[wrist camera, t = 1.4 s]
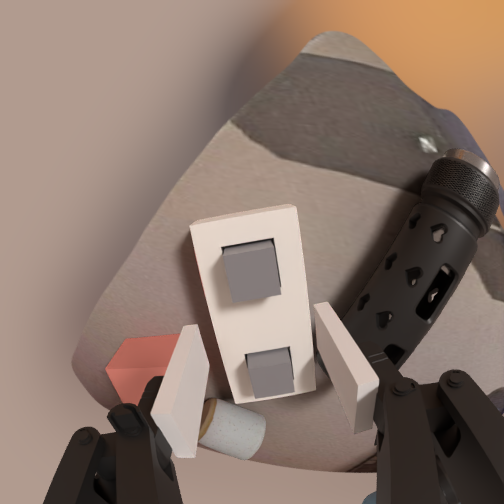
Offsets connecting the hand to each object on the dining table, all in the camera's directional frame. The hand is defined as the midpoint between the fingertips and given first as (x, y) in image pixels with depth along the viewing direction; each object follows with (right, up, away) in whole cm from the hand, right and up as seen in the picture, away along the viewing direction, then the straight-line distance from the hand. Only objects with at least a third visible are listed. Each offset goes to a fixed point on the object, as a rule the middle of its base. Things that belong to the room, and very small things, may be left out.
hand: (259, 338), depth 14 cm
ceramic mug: (-4, -20, +22) cm, 30 cm away
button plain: (+2, -8, +17) cm, 19 cm away
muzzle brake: (+18, +4, +18) cm, 25 cm away
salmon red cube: (-12, -10, +19) cm, 25 cm away
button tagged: (0, +3, +14) cm, 14 cm away
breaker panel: (+1, -2, +18) cm, 18 cm away
